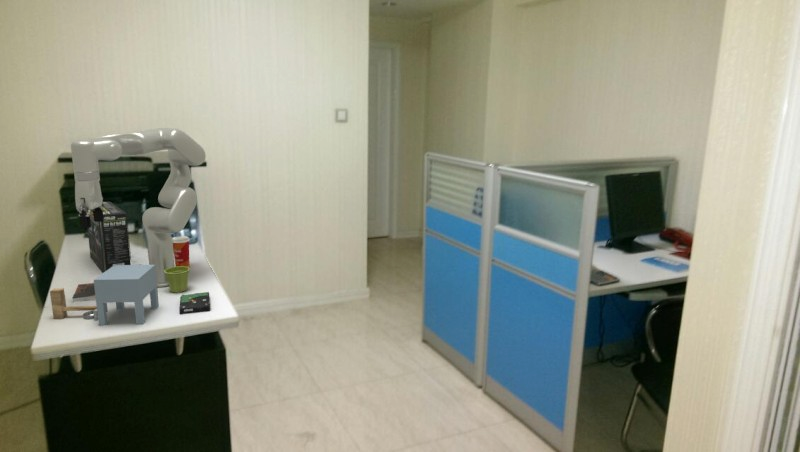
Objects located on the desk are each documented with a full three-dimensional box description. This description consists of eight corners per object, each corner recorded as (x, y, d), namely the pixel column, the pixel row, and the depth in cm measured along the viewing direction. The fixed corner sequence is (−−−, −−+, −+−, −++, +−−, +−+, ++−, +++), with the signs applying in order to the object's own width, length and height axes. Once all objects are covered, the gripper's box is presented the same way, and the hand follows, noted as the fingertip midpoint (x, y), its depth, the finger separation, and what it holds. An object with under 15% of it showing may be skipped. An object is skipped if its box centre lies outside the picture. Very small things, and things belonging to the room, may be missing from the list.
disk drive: (210, 312, 188) (209, 298, 201) (210, 305, 187) (209, 291, 201) (179, 316, 184) (180, 301, 198) (179, 308, 184) (179, 294, 197)
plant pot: (164, 295, 202) (162, 274, 200) (167, 287, 211) (166, 266, 209) (189, 293, 205) (188, 272, 203) (192, 285, 213) (191, 265, 211)
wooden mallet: (61, 312, 184) (58, 285, 181) (107, 311, 185) (104, 285, 183) (49, 321, 176) (45, 293, 174) (97, 320, 178) (94, 293, 175)
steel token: (82, 321, 178) (81, 317, 177) (84, 315, 182) (83, 311, 182) (99, 318, 180) (98, 314, 179) (100, 313, 184) (100, 309, 184)
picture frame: (72, 304, 194) (137, 296, 202) (72, 297, 193) (137, 290, 202) (79, 289, 208) (139, 283, 217) (78, 283, 208) (138, 277, 216)
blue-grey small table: (116, 307, 189) (112, 265, 186) (158, 306, 191) (155, 264, 187) (96, 325, 174) (91, 279, 170) (142, 324, 176) (138, 279, 172)
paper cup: (170, 267, 236) (168, 237, 233) (187, 264, 241) (185, 234, 238) (177, 271, 231) (175, 240, 228) (194, 268, 236) (192, 238, 233)
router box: (133, 272, 229) (127, 212, 223) (105, 277, 222) (98, 215, 216) (115, 253, 256) (109, 200, 250) (89, 257, 249) (83, 202, 243)
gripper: (87, 173, 189) (92, 219, 193) (62, 180, 172) (69, 230, 176) (109, 173, 190) (114, 219, 194) (86, 180, 173) (92, 230, 177)
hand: (92, 224), depth 185 cm, fingers open, 9 cm apart
